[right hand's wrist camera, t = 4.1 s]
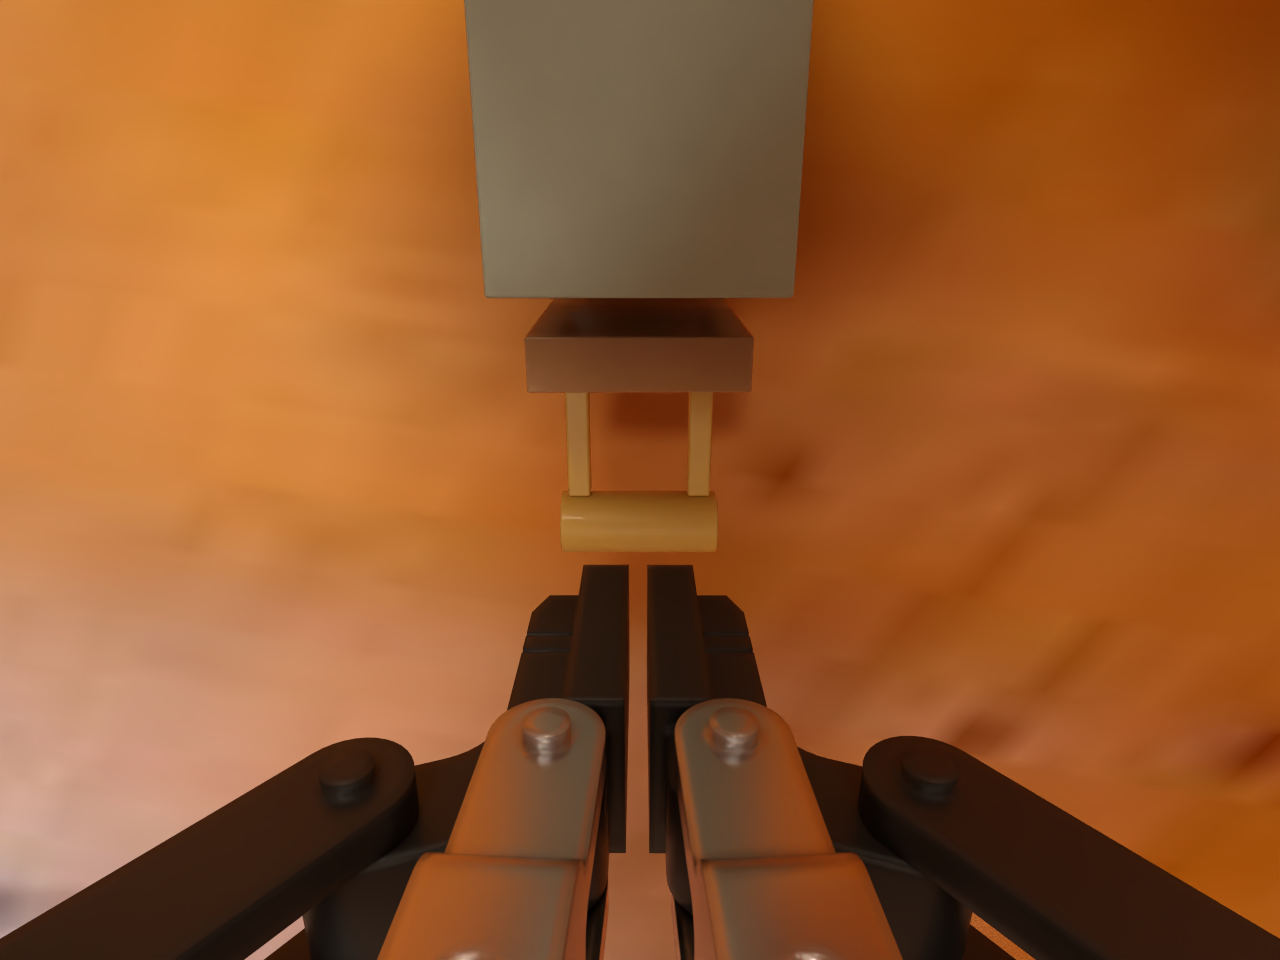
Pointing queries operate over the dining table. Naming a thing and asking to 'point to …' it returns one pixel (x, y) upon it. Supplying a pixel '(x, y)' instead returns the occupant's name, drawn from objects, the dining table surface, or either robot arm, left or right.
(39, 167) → the dining table surface
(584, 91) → the grey rectangular box
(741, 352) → the drawer
